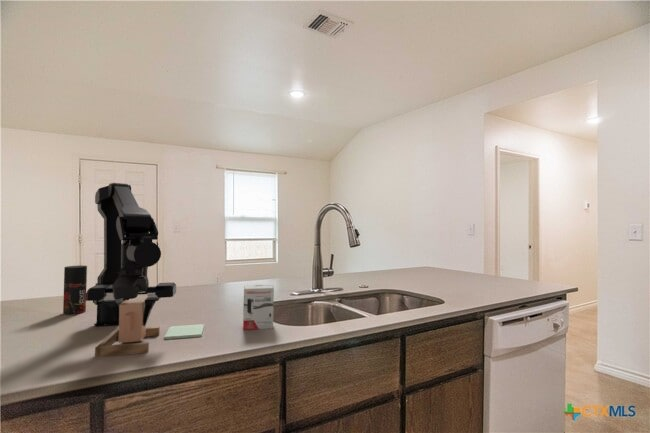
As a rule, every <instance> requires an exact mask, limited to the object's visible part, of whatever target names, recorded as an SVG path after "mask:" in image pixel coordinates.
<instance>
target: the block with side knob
mask: <svg viewBox="0 0 650 433" xmlns="http://www.w3.org/2000/svg"><path fill="white" fill-rule="evenodd" d="M145 299H146V298H143V299H129V300H125V301H124V302H123V303H121V304H120V305H119V324H118V329H119V338H118V343H120V344H121V343H133V342H134V343H135V342H141V341H142V340H143V339H144V338H145V337H146V336H145V335H146V328H147V324H146V325H145V326H143V317H144V309H145Z"/></svg>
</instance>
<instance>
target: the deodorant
mask: <svg viewBox="0 0 650 433" xmlns="http://www.w3.org/2000/svg"><path fill="white" fill-rule="evenodd" d="M63 271H64V272H63V275H64V276H63V303H62V306H63V309H62V310H63V311H62V315H63V316H74V315H80V314H83V313H86V311H87V301H86V292H87V286H88V285H87V284H88V283H87V281H88V279H87V278H88V265H68V266H64V270H63Z"/></svg>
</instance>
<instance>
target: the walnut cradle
mask: <svg viewBox="0 0 650 433" xmlns="http://www.w3.org/2000/svg"><path fill="white" fill-rule="evenodd" d="M154 336H156V337H157V336H160V326H150V327H147V326H146V335H145V336H144V337H154ZM118 340H119V328H118V329H117V328H116V329H114V330H113V331H111V333H109V335H107V336H106V337H105V338H104V339H103V340H102V341H101V342H100V343H99V344H98V345H97V346H95V347H94V357H95V358H96V357H107V356H108V357H109V356H122V355H135V354H145V353H148V352H149V348H150V347H149V346H150V345H149V344H150V342H149V341H147V342H146V341H145V342H134V343H133V342H131V343H122V344H121V343H120V344H114V343H115V342H116V341H118Z"/></svg>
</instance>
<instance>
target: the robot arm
mask: <svg viewBox="0 0 650 433" xmlns="http://www.w3.org/2000/svg"><path fill="white" fill-rule="evenodd" d="M94 202H95V204H96V205H97V206H96V207H97V212H98V213H99V214H100V216H101V217H102V218H103V269H102V271H101V272H100V273H99V275H98V276H97V278H96V279H97V282H96V283H95V285H93V286H92V287H90V288H88V289H86V302H87V301H88V302H90V301H92V303H93V305H95V306H96V322H95V323H94V324H93V326H94V327H100V326H114V325H118V326H119V305H120V304H121V303H123V302H124V301H125V300H135V299H137V297H138V296H139V295H147V297H146V298H144V299H145V309H144V317H143V326H145V325H146V326H147V322H148V320H149V317H150V316H151V315H150V314H151V312H152V311H153V307H154V306H155V304H156V302H158V301H159V300H160V299H161V298H173V297H174V296H175V295H176V294H177V284H175V282H158V284H157V285H156V286H154V285H153V286H150V285H149V283H150V282H149V277H148V269H149V267H152V266H154V265H156V264H157V263H159V261H160V259H161V257H162V251H161V248H160V246H159V245H157V243H155V242H153V241H154V240H157V241H158V239H159V238H158V236H159V231H158V228H157V224H156V222H155V219H154V217H152V215H151V213H150V212H149V211H148V210H147V209H145V208H143V207H140V206H139V204H138V202H137V200H136V198H135V196H134V194H133V192H132V186H131V184H128V183H121V182H120V183H119V182H112V183H111V182H110V183H109V184H108V185H107V186H102V187H99V188H98V189H97V190H96V192H95V197H94Z"/></svg>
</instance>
